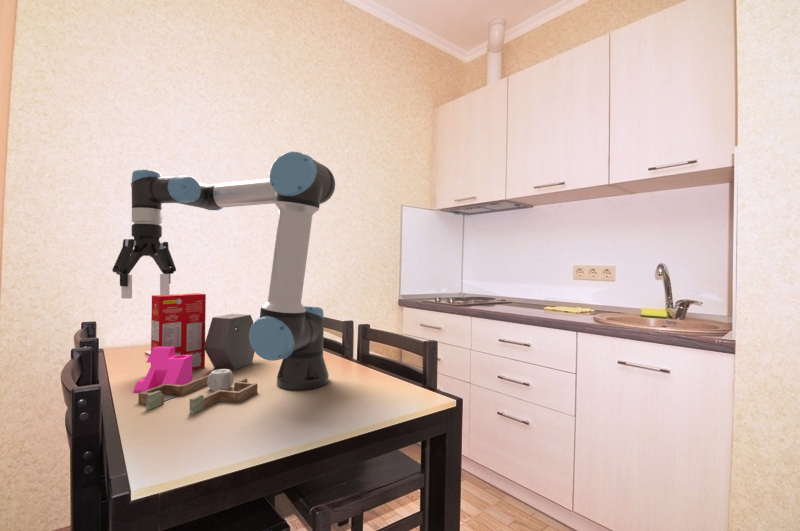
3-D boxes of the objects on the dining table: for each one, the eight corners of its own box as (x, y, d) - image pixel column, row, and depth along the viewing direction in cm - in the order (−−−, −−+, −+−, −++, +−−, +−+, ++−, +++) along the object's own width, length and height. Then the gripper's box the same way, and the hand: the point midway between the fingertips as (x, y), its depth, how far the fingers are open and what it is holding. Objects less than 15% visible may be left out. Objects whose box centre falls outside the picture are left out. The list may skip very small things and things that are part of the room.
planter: (245, 344, 153) (226, 301, 142) (263, 345, 151) (245, 302, 140) (219, 379, 139) (196, 334, 128) (239, 381, 138) (218, 336, 126)
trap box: (264, 388, 115) (264, 376, 115) (213, 416, 94) (214, 401, 94) (191, 382, 120) (191, 370, 120) (127, 407, 99) (127, 393, 99)
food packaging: (196, 365, 140) (197, 293, 140) (204, 367, 137) (205, 294, 137) (150, 374, 128) (151, 295, 128) (158, 377, 125) (159, 296, 125)
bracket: (156, 380, 122) (157, 346, 122) (192, 380, 123) (192, 346, 123) (133, 393, 110) (134, 355, 110) (172, 392, 111) (173, 355, 111)
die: (221, 392, 112) (221, 374, 112) (206, 390, 113) (207, 372, 113) (234, 387, 116) (234, 369, 116) (220, 385, 118) (220, 368, 118)
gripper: (168, 228, 131) (168, 293, 131) (96, 219, 107) (96, 299, 107) (188, 227, 130) (188, 293, 130) (120, 218, 105) (120, 300, 105)
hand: (146, 296), depth 118 cm, fingers open, 13 cm apart
